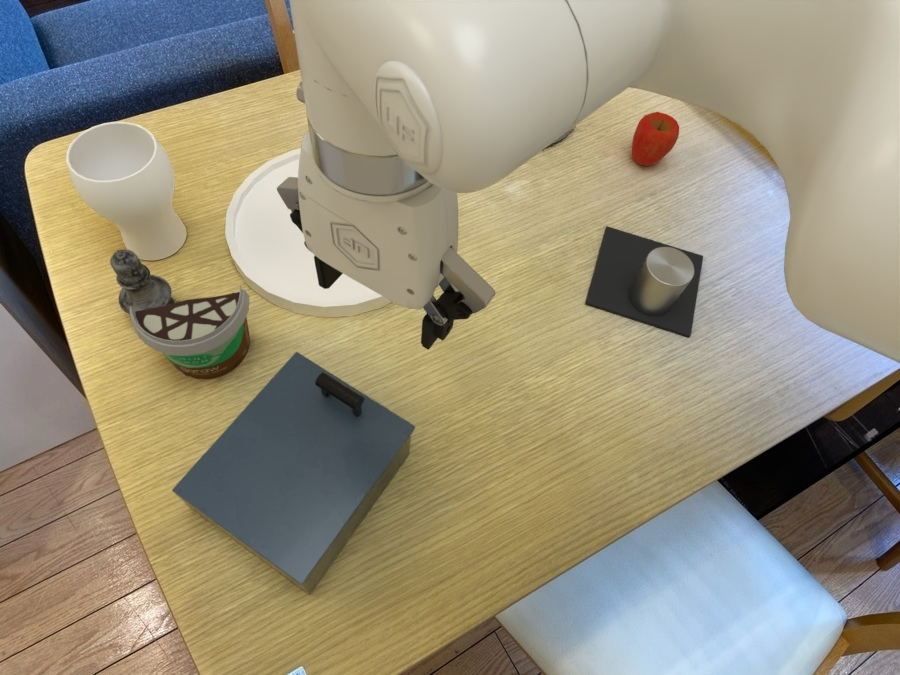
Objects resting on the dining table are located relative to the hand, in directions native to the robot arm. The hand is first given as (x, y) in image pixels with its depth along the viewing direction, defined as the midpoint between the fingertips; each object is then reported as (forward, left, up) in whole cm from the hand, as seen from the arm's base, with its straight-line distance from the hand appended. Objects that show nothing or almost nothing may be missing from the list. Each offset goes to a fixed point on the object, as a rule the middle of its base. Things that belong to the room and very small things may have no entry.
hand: (384, 304), depth 50 cm
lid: (+6, +8, -20) cm, 22 cm away
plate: (+17, -24, -26) cm, 39 cm away
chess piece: (+32, -4, -26) cm, 41 cm away
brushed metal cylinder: (-26, -29, -25) cm, 46 cm away
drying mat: (-25, -32, -26) cm, 48 cm away
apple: (-21, -55, -26) cm, 64 cm away
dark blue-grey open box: (+6, +9, -26) cm, 28 cm away
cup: (+38, -14, -26) cm, 48 cm away
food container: (+22, 0, -26) cm, 34 cm away
